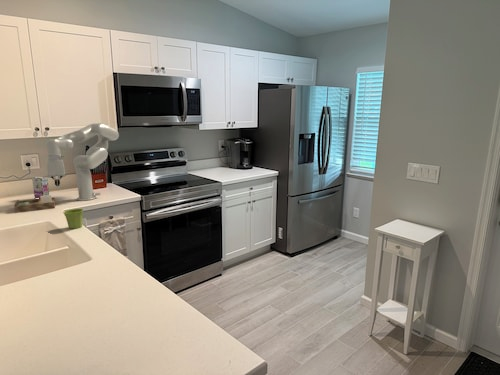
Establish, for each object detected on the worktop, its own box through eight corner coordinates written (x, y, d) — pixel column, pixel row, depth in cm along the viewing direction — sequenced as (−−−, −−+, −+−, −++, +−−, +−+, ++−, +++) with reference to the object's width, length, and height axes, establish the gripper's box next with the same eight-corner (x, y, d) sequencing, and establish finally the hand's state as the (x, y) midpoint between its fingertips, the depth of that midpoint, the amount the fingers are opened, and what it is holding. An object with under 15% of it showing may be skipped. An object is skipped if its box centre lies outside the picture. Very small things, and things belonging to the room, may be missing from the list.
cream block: (51, 200, 230) (51, 194, 229) (51, 202, 225) (50, 196, 225) (41, 201, 227) (40, 196, 226) (41, 203, 222) (40, 197, 222)
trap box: (54, 203, 237) (54, 195, 236) (54, 208, 221) (53, 200, 220) (18, 207, 226) (17, 199, 226) (15, 212, 211) (14, 204, 210)
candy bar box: (50, 199, 251) (47, 176, 248) (43, 200, 247) (40, 177, 244) (41, 197, 256) (38, 176, 253) (34, 199, 252) (31, 177, 249)
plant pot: (61, 228, 175) (59, 211, 174) (80, 223, 183) (78, 207, 181) (70, 231, 170) (68, 214, 168) (89, 226, 177) (87, 210, 176)
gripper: (67, 157, 232) (70, 184, 234) (41, 158, 224) (44, 186, 227) (67, 158, 225) (70, 185, 228) (41, 159, 218) (44, 187, 221)
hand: (57, 185), depth 228 cm, fingers closed
